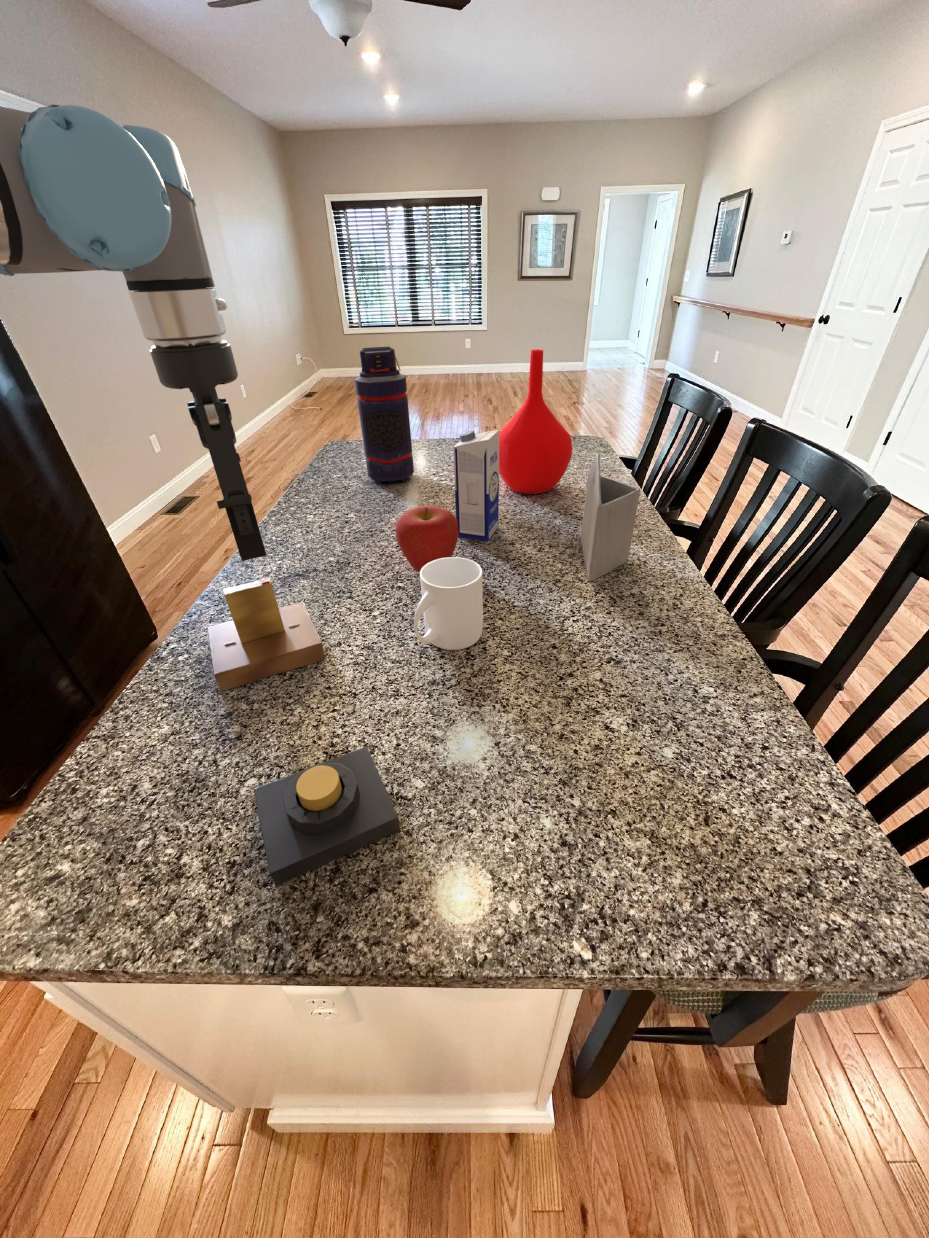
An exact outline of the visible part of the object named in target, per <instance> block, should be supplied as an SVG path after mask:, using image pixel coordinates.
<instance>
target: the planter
mask: <svg viewBox="0 0 929 1238" xmlns="http://www.w3.org/2000/svg"><path fill="white" fill-rule="evenodd" d="M640 494H641V488H639V487H637V486H634V485H632V484H628V483H626V482H623V481H619V480H616V479H613V478H611V477H607V476H605V475H602V474H601V455H600V453H599V452H598V453H596V455H595V457H594V459H593V461H592V463H591V465H590V468H589V470H588V472H587V479H586V487H585V495H584V505H583V511H582V512H583V514H582V523H581V531H580V539H579V540H580V544H581V549H582V554H583V559H584V565H585V570H586V575H587V580H588V582H593V581H595V580H597V579H599V578H601V577H603V576H604V575H606V574H608V573H610V572H612V571H614V570H615V569H617V568H619V567H620V566H622V565H623V564H625V563H626V562H627V561H629V557H630V552H631V546H632V540H633V535H634V529H635V524H636V518H637V511H638V507H639V506H638V505H639V501H640Z"/></svg>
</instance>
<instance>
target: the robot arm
mask: <svg viewBox="0 0 929 1238" xmlns="http://www.w3.org/2000/svg"><path fill="white" fill-rule="evenodd" d="M196 205H197V203H196V198H195V197H194V195H193V192H192V188H191V185H190V182H189V180H188V176H187V172H186V169H185V166H184V165H183V161H182V157H181V156H180V153H179V150H178V147H177V146H176V144H175V142H174V141H173V140H172V139H171V138H170V137H169V136H168V135H166V134H165V133H164V132H162V131H159V130H157V129H154V128H149V127H146V126H140V125H132V124H119V123H118V122H116V121H115V120H113V118H111V117H109V116H107V115H105V114H104V113H102V112H100V111H97V110H95V109H92V108H89V107H85V106H82V105H73V104H67V105H60V104H59V105H58V104H50V105H47V106H39V107H38V108H37V109H35V110H32V111H31V112H30V111H24V110H21V109H20V110H19V109H15V108H11V107H6V106H1V105H0V275H3V276H9V277H14V276H15V275H18V274H19V275H20V274H21V275H23V274H57V273H58V274H59V273H72V272H91V271H92V272H93V271H105V272H106V271H107V272H118V273H119V272H122V274H123V276H124V280H125V282H126V283H125V284H126V287H127V290H128V294H129V297H130V300H131V302H132V305H133V309H134V311H135V313H136V316H137V320H138V323H139V326H140V329H141V332H142V334H143V337H144V338H145V339H146V340H147V341H151V342H152V343H153V345H151V347H150V349H149V353H150V356H151V359H152V362H153V365H154V368H155V370H156V374H157V377H158V380H159V382H160V384H161V385H162V386H163V387H165V388H168V389H171V390H183V389H189V392H190V393H191V394H192V398H193V401H187V402H186V405H187V409H188V412H189V416H190V418H191V422H192V424H193V425H194V426H195V427H196V430H197V433H198V436H199V440H200V442H201V446H202V447H203V448H205V449H207V450H208V452H209V455H210V458H211V459H210V460H211V462H212V465H213V469H214V472H215V475H216V478H217V481H218V484H219V487H220V492H221V494H222V497H223V498H222V499H221V500H216V504H217V508H218V510H222V509H225V512H226V515H227V518H228V521H229V524H230V525H229V526H230V528H231V531H232V535H233V537H234V540H235V541H234V542H235V543H236V547H237V550H238V554H239V556H240V559H241V562H244V561H248V560H254V559H258V558H261V557H267V556H268V555H267V552H266V548H265V545H264V541H263V538H262V535H261V531H260V527H259V523H258V519H257V517H256V513H255V509H254V505H253V502H252V499H253V498H252V495H251V493H249V490H248V485H247V482H246V480H245V476H244V472H243V469H242V466H241V463H242V460H241V457H240V453H239V452H237V448H236V445H235V444H237V437H236V433H235V429H234V426H233V423H232V420H233V416H232V411H231V408H230V405H229V402H228V401H227V398H226V397H221V398H219V395H218V393H217V390H216V387H217V386H220V385H227V384H230V383H233V382H235V381H236V380H237V379H238V376H239V373H238V369H237V364H236V361H235V358H234V354H233V350H232V346H231V344H230V343H228V340H226V339H223V338H222V336H224V335H225V334H226V332H227V329H226V325H225V320H224V317H223V315H222V314H221V313H219V312H220V311H226V310H227V309H228V306H227V303H226V302H227V301H225V300H224V299H222V298H217V294H218V293H217V291H216V288H215V287H216V286H215V281H214V279H213V272H212V270H211V265H210V262H209V258H208V254H207V251H206V245H205V242H204V237H203V234H202V230H201V226H200V222H199V217H198V213H197V210H196Z"/></svg>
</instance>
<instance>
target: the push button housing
mask: <svg viewBox="0 0 929 1238" xmlns="http://www.w3.org/2000/svg"><path fill="white" fill-rule="evenodd" d="M316 766H329V767H332V768H333V769H335V770H336V771H337V773H338V775H339V779H340V783H341V787H342V792H341V795H340V798H339V799H338V801H337V802H336V803H335V804H334V805H333V806H331V807H330V808H328V809H325V810H322V811H310V810H307V809H306V808H304V807H303V806H302V804H301V802H300V799H299V797H298V794H297V791H296V785H297V781H298V779H299V778H300V776H301V775H302V774H303V773H304V772H306V771H307V770H309V769H311V768H313V767H316ZM253 793H254V798H255V803H256V809H257V814H258V819H259V825H260V830H261V835H262V841H263V845H264V846H263V847H264V850H265V851H264V852H265V856H266V861H267V867H268V872H269V875H270V878H271V879H272V882H273V884H274V886H275V887H278V886H280V885H283V884H284V883H287V882H289V881H291V880H293V879H296V878H298V877H300V876H303V875H305V874H307V873H310V872H311V871H314V870H316V869H318V868H320V867H323V866H324V865H326V864H329V863H331V862H333V861H336V860H339V859H340V858H342V857H345V856H347V855H349V854H351V853H354V852H356V851H358V850H361V849H363V848H364V847H367V846H369V845H371V844H374V843H376V842H378V841H380V840H382V839H384V838H387V837H389V836H391V835H394V834H395V833H398V832H400V831H401V826H400V825H401V824H400V819H399V816H398V813H397V811H396V808H395V806H394V804H393V802H392V800H391V798H390V796H389V793H388V790H387V788H386V786H385V784H384V781H383V779H382V777H381V775H380V773H379V771H378V768H377V766H376V764H375V761H374V760H373V757H372V755H371V752H370V750H369V748H368V746H364V747H361V748H359V749H356V750H353V751H349V752H347V753H345V754H342V755H340V756H337V757H334V758H332V759H329V760H326V761H324V762H319V763H317V764H314V765H312V766H309V767H305V768H304V769H302V770H300V771H298V772H295V773H292V774H290V775H286V776H284V777H281V778H279V779H276V780H273V781H271V782H268V783H265V784H262V785H260V786H257V787H255V788H253Z"/></svg>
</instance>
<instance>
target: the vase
mask: <svg viewBox="0 0 929 1238" xmlns="http://www.w3.org/2000/svg"><path fill="white" fill-rule="evenodd" d="M543 374H544V349H543V348H541V349H540V348H536V349H530V357H529V372H528V393H527V396H526V398H525V400H524V403H523V404H522V406H521V407H520V408H519V409H518V410H517V412H516V413H515V414H514V415H513V416H512V417H511V419H510V420H509V421H508V422H507V423H506V424H505V425H504V426H503V427H502V429H500V430H499V477H501V479H502V480H503V482H504V483H505V485H506V486H508V487H509V488H510V489H511V490H512V491H514V492H517V493H520V494H526V495H537V494H543V493H546V492H549V491H550V490H551V489H553V488H554V487H555V486H557V484H558V483H559V482H560V481H561V479H562V478H563V476H564V475H565V473H566V471H567V469H568V467H569V464H570V462H571V460H572V457H573V456H572V455H573V443H572V437H571V434H570V432H569V431H568V430H567V429H566V428H565V427H564V426H563V425H562V424H561V422H560V421H559V420H558V419H557V417H556V416H555V415H554V414H553V412H552V411H551V409H550V408H549V407H548V405H547V404H546V402H545V399H544V396H543V381H544V380H543V376H544V375H543Z"/></svg>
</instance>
